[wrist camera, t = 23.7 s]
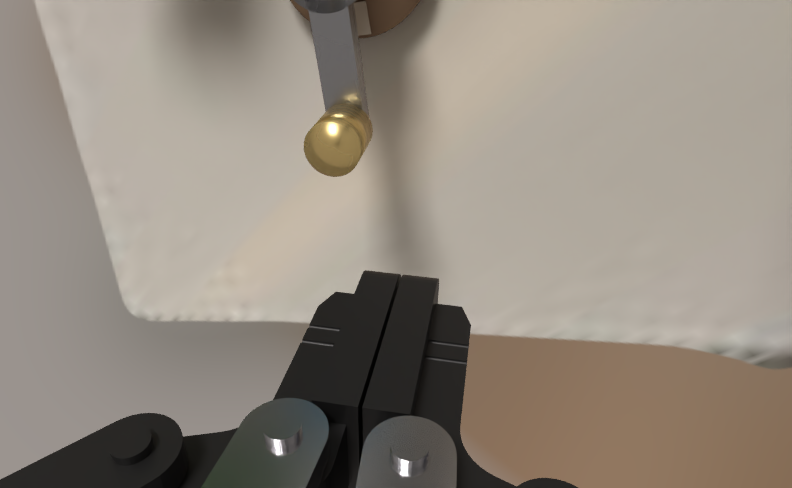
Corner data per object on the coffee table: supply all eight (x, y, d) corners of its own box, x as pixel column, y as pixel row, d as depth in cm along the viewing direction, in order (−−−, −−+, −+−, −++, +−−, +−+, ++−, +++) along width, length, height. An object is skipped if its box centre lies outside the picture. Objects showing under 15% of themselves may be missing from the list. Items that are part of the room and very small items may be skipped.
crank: (275, -86, 27) (238, -84, 23) (365, -98, 26) (342, -98, 22) (318, 147, 33) (294, 178, 29) (394, 143, 32) (379, 175, 28)
